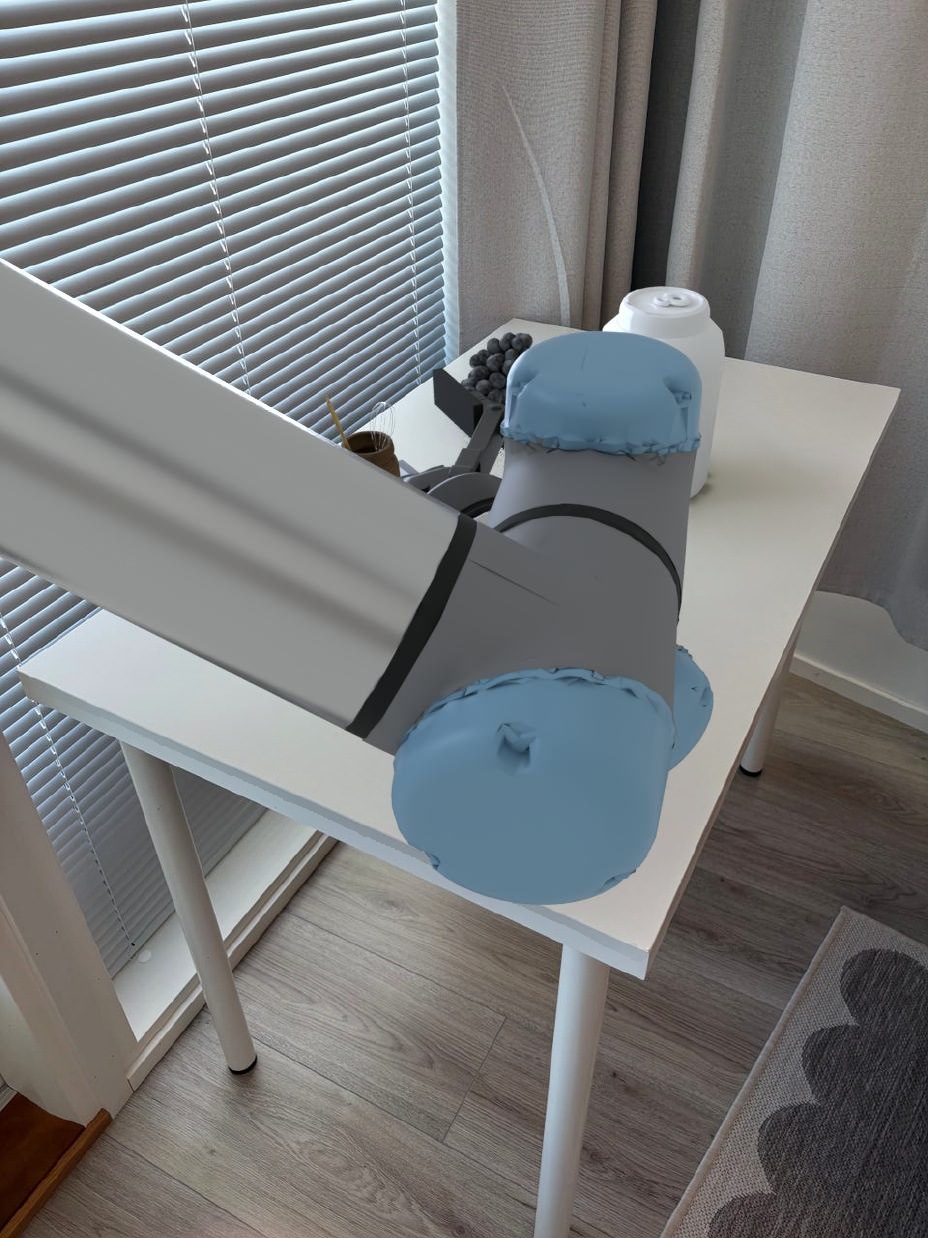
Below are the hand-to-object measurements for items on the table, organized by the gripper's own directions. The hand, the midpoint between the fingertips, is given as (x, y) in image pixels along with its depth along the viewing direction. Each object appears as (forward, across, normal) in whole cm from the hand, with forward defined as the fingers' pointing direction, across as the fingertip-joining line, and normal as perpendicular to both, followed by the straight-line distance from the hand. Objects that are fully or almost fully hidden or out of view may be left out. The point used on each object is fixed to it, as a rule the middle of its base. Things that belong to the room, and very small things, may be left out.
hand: (350, 407), depth 67 cm
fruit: (+37, +30, -24) cm, 54 cm away
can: (+14, +37, -24) cm, 46 cm away
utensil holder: (+19, +7, -21) cm, 29 cm away
